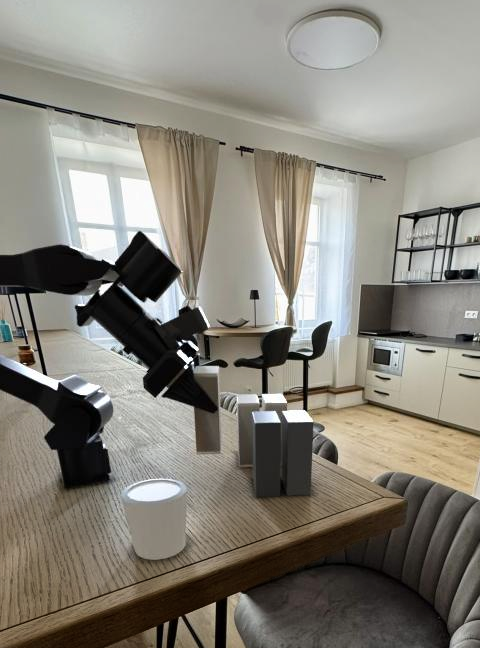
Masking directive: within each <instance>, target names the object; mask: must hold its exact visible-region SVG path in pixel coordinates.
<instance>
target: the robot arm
mask: <svg viewBox="0 0 480 648" xmlns="http://www.w3.org/2000/svg"><path fill="white" fill-rule="evenodd" d="M182 273H183V270H182V269H181V267H180V266H179V265H178V264H177V263H176V262H175V261H174V259H172V258H171V256H170V255H168V254H167V252H165V251H164V250H163V249H161V248H160V247H158V245H157V244H156V243H154V242H153V241H152V240H151V239H150V238H149V237H148V235H146V234H145V232H143V231H141V230H137V232H136V233H135V234H134V236H133V237H132V238H131V241H130V243H129V244H128V246H127V247H126V248H125V249H124V250H123V252H122V253H121V254H120V255H119V256H118V258H117V259H116V260H115V261H112V260H108V259H105V258H102V259H101V260H98V259H97V258H96V257H94V256H93V255H92V254H91V253H90V252H88V251H86V250H83V249H81V248H77V247H74V246H71V245H66V244H53V245H48V246H42V247H38V248H32V249H29V250H27V251H23V252H20V253H15V254H0V287H2V288H3V287H5V288H6V287H10V288H11V287H12V288H13V287H16V288H19V287H20V288H30V289H34V290H39V291H42V292H43V291H44V292H49V293H54V294H60V295H66V296H80V297H89V296H91V297H90V298H89V300H87V302H86V303H85V304H75V305H74V309H75V313H76V325H77V326H78V327H79V328H82V327H88V326H90V325H92V323H93V322H94V321H95V322H96V323H97V324H98V325H100V327H101V328H103V329H104V330H105V331H106V332H108V334H110V336H111V337H113V338H114V339H115V340H116V341H117V342H118V343H119V344H120V345H121V346H122V347H123V348H122V351H123V352H124V353H125V354H126V355H127V356H129V355H133V356H134V358H136V359H137V360H138V361H139V362H141V364H143V365H144V366H145V368H147V370H146V373H145V375H143V377H142V384H143V389H144V390H145V391H146V392H147V393H148V394H150V395H151V396H152V397H153V398H154V399H156V398H157V397H158V396H159V395H160V394H161V393H162V392H163V393H162V394H161V396H160V397H161V398H163V399H169V400H172V401H175V402H178V403H181V404H184V405H187V406H190V407H193V408H194V407H195V408H198V409H201V410H204V411H207V412H209V413H212V414H214V413H215V412H216V411H217V410H218V407H217V405H216V404H215V403H214V401H213V400H212V399H211V398H210V396H209V395H208V394H207V392H206V391H205V390H204V389H203V387H202V386H201V385H200V384H199V382H198V381H197V380H196V378H195V371H194V369H195V367H196V366H201V354H200V352H198V351H199V348H198V347H197V346H196V345H195V344H194V343H193V342H192V341H191V340H186V339H188V338H191V337H192V336H194V335H196V334H201V333H204V332H206V331H208V330H210V329H211V325H210V323H209V321H208V319H207V317H206V315H205V313H204V311H203V309H202V307H201V306H197V307H195V308H193V307H192V306H190V305H189V304H188V305H185V306H183V307H180V308H178V311H177V312H178V316H176V317H174V318H172V319H170V320H168V321H165V322H164V321H163V320H162V319H161V318H160V317H153V316H152V315H151V314H150V313H149V312H148V311H147V310H146V309H145V308H144V307H143V306H142V305H141V304H140V303H138V301H137V300H139V301H140V302H141V303H146V302H147V300H148V299H149V300H150V301H151V302H153V303H157V302H158V301H159V300H160V298H161V297H162V296H163V295H164V294H165V293H166V291H167V290H168V289H169V288H170V287H171V285H173V284H174V282H175V281H177V280H178V278H179V277H180V276H181V274H182ZM108 284H111V285H110V286H109V287H108V288H107V289H106V290H105V291H104V290H101V287H102V286H103V285H108ZM123 287H125V289H127V291H129V293H130V294H132V295H133V296H134V297H135V298H136V299H137V300H135V299H134V298H133V296H131V295H130V294H129V293H128V292H127V291H126V290H125V289H124V288H123ZM197 352H198V353H197ZM196 353H197V354H196ZM195 354H196V355H195ZM194 355H195V356H194ZM193 356H194V358H192V357H193ZM165 388H167V389H165ZM101 389H102V386H101V385H95V384H91V383H89V382H87V381H86V380H85V379H83V378H81V377H80V376H78V375H76V374H73V375H71V376H68V377H66V378H64V379H62V380H56V379H53V378H51V377H49V376H47V375H44V374H42V373H40V372H38V371H36V370H34V369H32V368H31V367H28V366H26V365H23V364H21V363H19V362H17V361H15V360H13V359H11V358H9V357H7V356H5V355H3V354H1V353H0V391H1V392H3V393H6V394H8V395H9V396H12V397H15V398H17V399H18V400H21V401H24V402H26V403H28V404H30V405H31V406H34V407H36V408H37V409H38V410H39V411H40V412H41V414H43V415H44V416H45V418H46V419H47V420H48V421H49V422H50V423H51V424H53V425H52V427H51V428H50V429H49V430H48V431H47V432H46V434H44V436H43V439H44V440H45V442H46V444H47V446H48V448H49V449H50V450H51V451H56V453H57V458H58V463H59V469H60V472H59V474H60V478H61V481H62V482H61V483H62V486H63V489H71V488H79V487H84V486H89V485H93V484H95V485H96V484H101V483H106V482H110V481H111V477H110V474H111V473H112V469H111V461H110V455H109V449H108V447H107V446H106V444H104V442H103V438H102V437H101V435H102V434H103V432H104V429H105V426H106V424H108V423H109V422H110V421H111V419H112V418H113V415H114V405H113V403H112V401H111V398H110V396H109V395H108V394H107V393H105V392H104V391H102V390H101ZM164 390H165V391H164Z"/></svg>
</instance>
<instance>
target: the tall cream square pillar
mask: <svg viewBox="0 0 480 648" xmlns="http://www.w3.org/2000/svg"><path fill="white" fill-rule="evenodd" d="M194 371H195V378H196V380H197V381H198V382H199V384H200V385H201V386H202V387H203V389H204V390H205V391H206V392H207V394H208V395H209V396H210V398H211V399H212V400H213V401H214V403H215V404H216V405H217V407H218V410H217V411H216V412H215V413H214V414H212V413H209V412H207V411H204V410H201V409H198V408H195V407H193V416H194V418H193V419H194V430H195V431H194V433H195V434H194V435H195V451H196V455H197V456H200V455H221V449H222V416H221V415H222V413H221V411H222V409H221V383H220V381H221V380H220V366H219V365H200V366H196V367H195V369H194Z"/></svg>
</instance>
